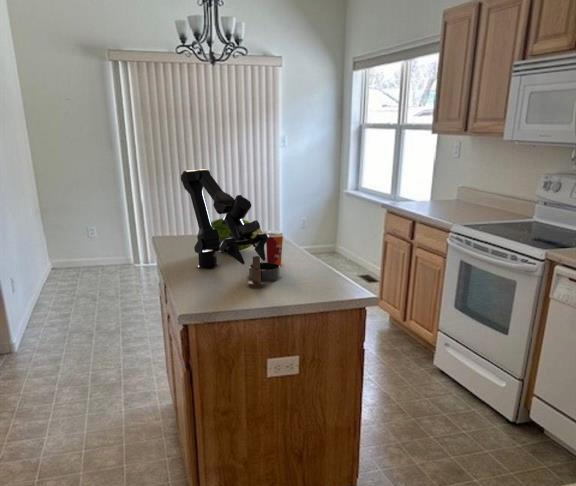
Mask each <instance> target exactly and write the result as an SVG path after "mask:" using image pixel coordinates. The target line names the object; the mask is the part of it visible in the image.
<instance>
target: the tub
mask: <svg viewBox="0 0 576 486" xmlns="http://www.w3.org/2000/svg"><path fill="white" fill-rule="evenodd" d="M280 267H281V266H279V265H277V264H274V263H267V261H266V262H265V261H262V262H261V261H260V269H259V270H261V281H263V282H264V283H267V282H274V281H278V280H279V279H280V274H281V273H280ZM252 268H253V263H250V264H249V265H248V278H249V279H250V281H252Z"/></svg>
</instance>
